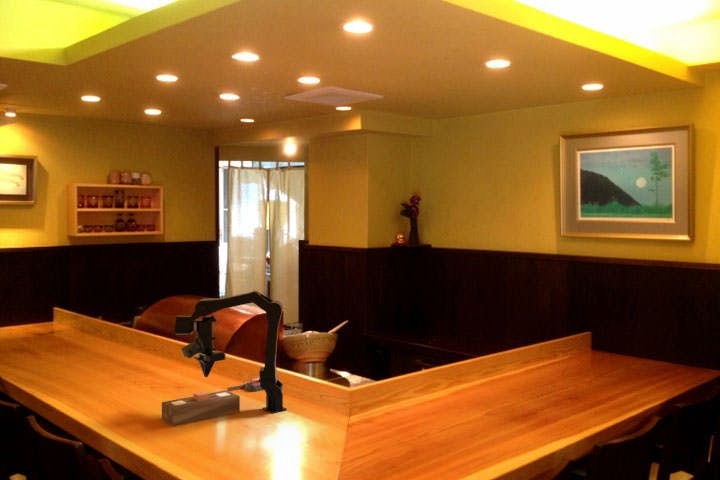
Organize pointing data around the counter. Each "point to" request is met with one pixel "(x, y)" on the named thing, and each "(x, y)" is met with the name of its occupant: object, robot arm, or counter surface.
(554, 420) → the counter surface
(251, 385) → the walkie-talkie
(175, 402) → the cream plug
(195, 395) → the plug terracotta
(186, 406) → the socket board
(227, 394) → the cream plug
